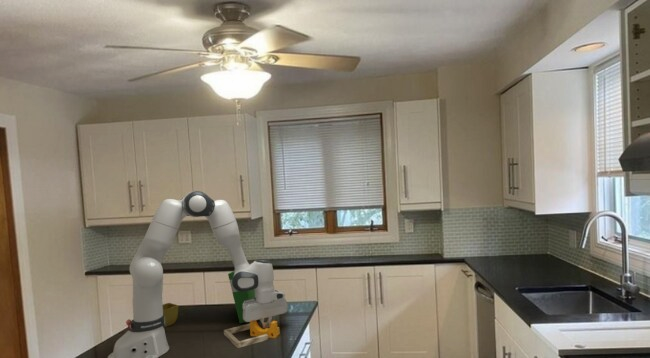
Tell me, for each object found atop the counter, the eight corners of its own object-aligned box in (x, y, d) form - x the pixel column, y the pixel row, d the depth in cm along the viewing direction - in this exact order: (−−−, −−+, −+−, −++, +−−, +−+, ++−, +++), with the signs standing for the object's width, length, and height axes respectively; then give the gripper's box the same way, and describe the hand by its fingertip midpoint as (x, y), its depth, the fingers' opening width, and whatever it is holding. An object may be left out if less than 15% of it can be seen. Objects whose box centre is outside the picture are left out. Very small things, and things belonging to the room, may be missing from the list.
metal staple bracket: (237, 348, 161) (236, 343, 161) (223, 334, 176) (223, 330, 176) (268, 339, 168) (267, 335, 168) (252, 327, 183) (252, 322, 183)
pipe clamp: (279, 334, 173) (278, 319, 173) (275, 338, 169) (274, 323, 169) (255, 332, 177) (254, 317, 177) (250, 336, 173) (249, 321, 173)
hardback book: (253, 310, 206) (243, 265, 207) (266, 308, 205) (255, 262, 206) (239, 323, 189) (227, 273, 190) (253, 320, 188) (242, 270, 188)
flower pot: (163, 329, 186) (162, 310, 186) (153, 326, 191) (152, 307, 191) (179, 323, 193) (178, 305, 193) (169, 320, 198) (168, 302, 198)
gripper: (244, 302, 169) (246, 335, 169) (288, 293, 179) (289, 323, 180) (239, 299, 174) (241, 330, 174) (282, 290, 185) (283, 319, 185)
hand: (266, 327), depth 177 cm, fingers closed
